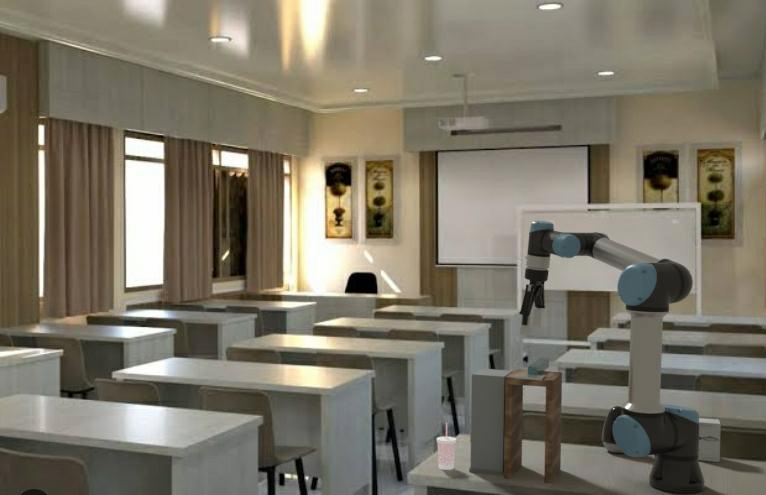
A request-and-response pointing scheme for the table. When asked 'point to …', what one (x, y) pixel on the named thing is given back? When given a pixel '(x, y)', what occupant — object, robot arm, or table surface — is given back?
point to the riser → (515, 422)
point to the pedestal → (488, 421)
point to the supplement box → (709, 440)
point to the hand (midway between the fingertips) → (530, 330)
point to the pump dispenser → (611, 430)
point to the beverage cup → (446, 452)
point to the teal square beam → (535, 370)
